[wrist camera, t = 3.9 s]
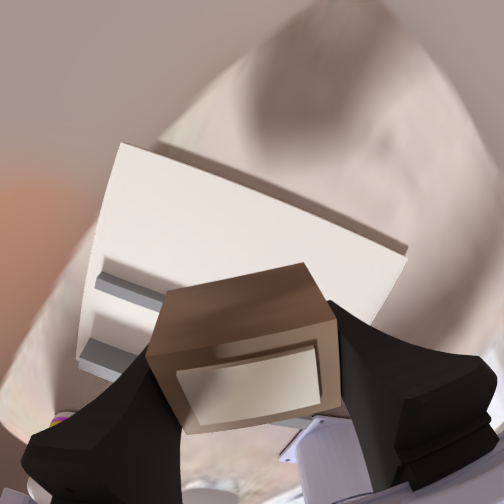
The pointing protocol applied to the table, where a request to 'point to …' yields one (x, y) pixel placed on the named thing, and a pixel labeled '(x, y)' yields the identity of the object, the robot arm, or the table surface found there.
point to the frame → (246, 350)
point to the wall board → (206, 254)
